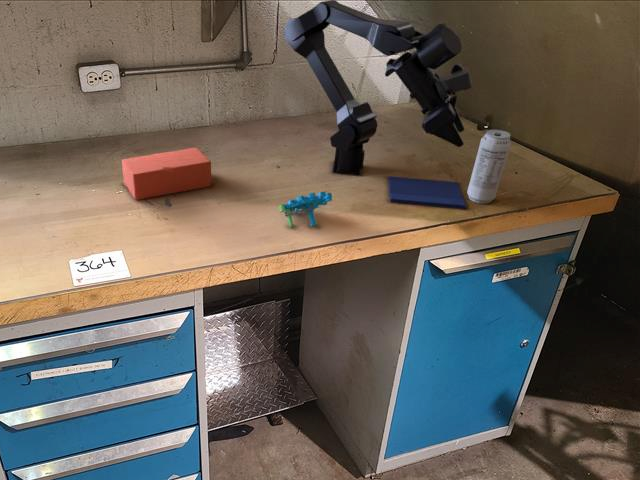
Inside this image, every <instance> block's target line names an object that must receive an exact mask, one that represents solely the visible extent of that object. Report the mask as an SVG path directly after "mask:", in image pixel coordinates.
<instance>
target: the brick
mask: <svg viewBox="0 0 640 480" xmlns="http://www.w3.org/2000/svg"><path fill="white" fill-rule="evenodd" d="M121 165H122V166H121V168H122V177H123V178H122V179H123V185H124V186H126V188H127V189H128V191H129V193H130V194H131V195H132V197H133V198H134V199H135V200H136V201H138V200H143V199H148V198H154V197H159V196H166V195H171V194H175V193H180V192H186V191H192V190H197V189H203V188H208V187H210V186H211V185H212V161H211V160H210V158H209V157H207V156H206V155H205V154H204V153H203V152H201V151H200V150H199V148H198V147H189V148H184V149H179V150H173V151H167V152H166V151H165V152H160V153H159V152H158V153H154V154H147V155H146V154H145V155H142V156H141V155H140V156H135V157H128V158H124V159H121Z"/></svg>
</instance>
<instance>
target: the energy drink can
mask: <svg viewBox="0 0 640 480" xmlns="http://www.w3.org/2000/svg"><path fill="white" fill-rule="evenodd" d="M511 146H512V141H511V133H510V132H508V131H505V130H501V129H488V130H486V132H485V134H484V135H483V136H482V137H481V139H480V142H479V147H478V150H477V154H476V157H475V160H474V161H475V162H474V165H473V169H472V173H471V176H470V180H469V184H468V187H467V191H466V193H467V195H468V199H469V200H470V201H471V202H474V203H477V204H483V205H484V204H490V203H492V201H494V200H495V199H496V196H497V193H498V189H499V186H500V183H501V179H502V176H503V173H504V169H505V166H506V162H507V159H508V155H509V152H510V149H511Z"/></svg>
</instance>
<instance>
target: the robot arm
mask: <svg viewBox="0 0 640 480" xmlns="http://www.w3.org/2000/svg"><path fill="white" fill-rule="evenodd" d="M330 25H331V26H334V27H337V28H338V29H342V30H344V31H347V32H348V33H351V34H354V35H356V36H358V37H361V38H363V39H365V40H367V41H368V42H369V43H370V45H371V46H372V47H373V48H374V49H375V50H377V51H378V52H379V53H381V54H383V55H384V56H389V57H391V56H393V55H397V54H400V53H403V54H402V55H400V56H399V57H397V58H390V59H389V60H388V61H387V62H386V68H385V72H384V77H389V76H390V75H392V74H394V73H395V75H397V77H398V78H399V79H400V81H401V83H403V85H404V86H405V88H406V89H407V90H408V92H409V97H410V99H411V100H415V102H416V103H417V104H418V105H419V106H420V108H421V110H420V112H421V113H422V114H423V119H422V123H421V128H422V129H423V131H424V132H425V133H426V134H427V135H431V136H435V137H437V138H440V139H441V140H444V141H446V142H448V143H450V144H452V145H454V146H456V147H457V148H461V147H462V146H464V141H463V139H462V136H461V134H460V133H462V132H463V131H465V127H464V124H463V122H462V119H461V116H460V114H459V112H458V110H457V106H456V105H457V104H456V103H457V99H458V92H461V91H467V90H469V89H472V88H473V81H472V76H471V72H470V68H469V67H468V66H465V67H464V66H463V65H462V64H461V63H460V62H458V63H455V64H453V65H452V66H451V68H450V69H451V70H450V72H446V74H445V75H441V76H440V74H439V73H438V72H435V71H434V72H433V70H437V69H438V68H440V67H441V66H443V65H444V64H446V63H448V62H449V61H450V60H451V59H453V58H455V57H456V56H458V55H459V54H461V52H462V41H461V40H460V37H459V36H458V34H456V32H454V31H453V29H451V28H449V27H448V25H447V24H446V22H440V23H438V24H437V25H435V26H434V27H433V28H432V29H431V30H430V31H429V32H427V33H426V34H425V33H423V32H421V31H420V30H416V29H415V26H414V25H413V24H412V23H411V22H409V21H404V20H398V19H383V18H378V17H376V16H373V15H371V14H368V13H365V12H363V11H360V10H357V9H355V8H352V7H350V6H347V5H345V4H342V3H340V2H338V1H337V0H324V1H320V2H319V3H318V4H316V5H315V6H314V7H312V8H311V9H310V10H308V11H306V12H304V13H302V14H300V15H299V16H297V17H293V18H290V19H289V20H288V21H286V24H285V27H284V32H283V36H284V39H285V41H286V43H287V44H288V45H289V46H290V48H291V49H292V50H293V51H294V52H295V53H297V54H298V55H299V56H301V57H303V58H304V59H305V60H306V62H307V63H308V65H309V67H310V68H311V70H312V72H313V74H314V75H315V77H316V79H317V80H318V82H319V84H320V86H321V87H322V89H323V91H324V93H325V94H326V96H327V98H328V100H329V101H330V103H331V105H332V107H333V108H334V110H335V112H336V126H337V128H338V131H336V132H335V133H334V134H332V135H331V136H330V137H329V141H330V146H331V147H333V148H335V151H334V152H335V153H334V160H333V163H332V164H333V165H332V173H336V174H347V175H358V176H359V175H361V171H362V170H363V169H364V161H365V154H366V153H365V152H366V151H365V149H364V144H367V143H369V142H370V139H371V138H373V137H374V136H375V134H376V133H377V129H378V122H377V119H376V118H377V117H378V116H377V115H376V114H375V112H373V110H372V107H371V105H370V103H369V102H367V101H366V102H363V103H360V102H359V101H357V100H356V98H355V97H354V96H353V93H352V92H351V90H350V88H349V86H348V85H347V83H346V82H345V80H344V78H343V76H342V74H341V72H340V71H339V69H338V68H337V65H336V63H335V62H334V60H333V59H332V57H331V55H330V54H329V52H328V50H327V48H326V43H325V42H326V41H325V32H324V30H325V29H327V28H328V27H329V26H330ZM413 49H415V51H413V52H410V50H411V51H412V50H413ZM408 51H409V52H408Z"/></svg>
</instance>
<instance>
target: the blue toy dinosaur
mask: <svg viewBox="0 0 640 480" xmlns="http://www.w3.org/2000/svg"><path fill="white" fill-rule="evenodd" d="M332 201H333V195H332V192H327V193H326V191H319V192H318V194H317V195H316V192H311V193H308V194H307V196H304V195H298V196H297V197H296V199H290V200H288V201H287V202H288V203H282V204H281V203H280V204H279V210H280V213H283V214H284V217H287V221H288V225H289V227H290V228H291V227H294V223H293V219H292V216H297V215H302V214H308V218H309V222H310V226H311V227H314V226H317V223H316V219H315V218H316V217H315V214H314V211H315V210H316V209H319V208H320V206H326V205H328V202H332Z"/></svg>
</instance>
